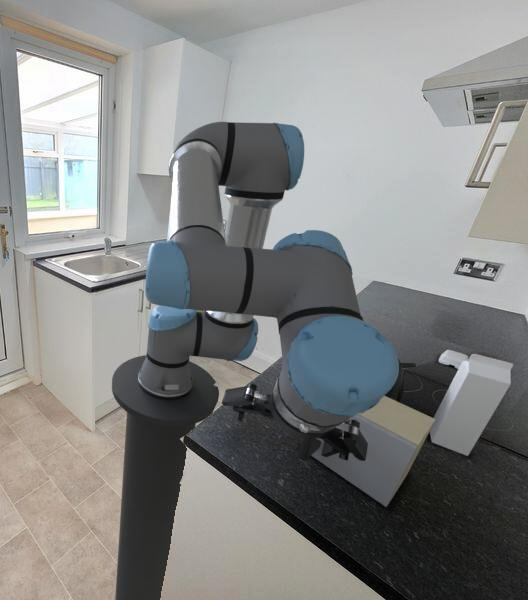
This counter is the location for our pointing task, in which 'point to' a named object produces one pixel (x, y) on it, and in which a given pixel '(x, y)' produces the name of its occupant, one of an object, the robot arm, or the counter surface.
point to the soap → (452, 358)
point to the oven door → (368, 460)
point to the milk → (470, 402)
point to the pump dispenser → (399, 382)
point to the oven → (401, 424)
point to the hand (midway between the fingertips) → (281, 430)
